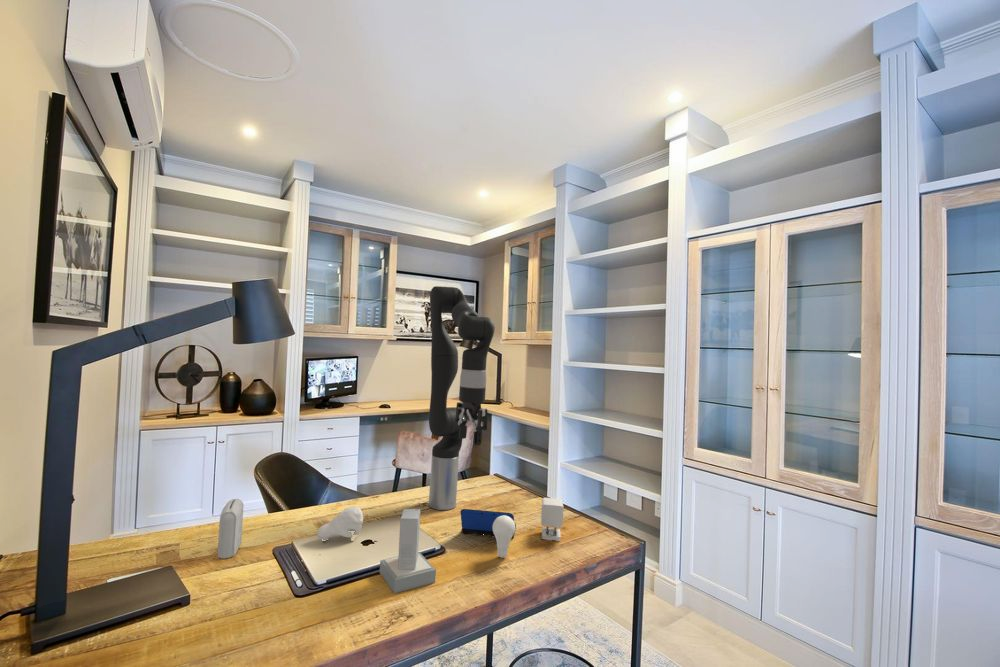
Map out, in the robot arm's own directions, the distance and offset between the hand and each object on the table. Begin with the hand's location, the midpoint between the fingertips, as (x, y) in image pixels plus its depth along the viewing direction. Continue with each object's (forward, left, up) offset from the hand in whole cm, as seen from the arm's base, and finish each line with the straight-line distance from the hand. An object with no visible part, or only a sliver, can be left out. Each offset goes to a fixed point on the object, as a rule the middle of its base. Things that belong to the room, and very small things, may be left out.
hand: (469, 441), depth 131 cm
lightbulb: (+14, +4, -28) cm, 32 cm away
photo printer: (-21, -57, -28) cm, 67 cm away
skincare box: (+12, -22, -25) cm, 35 cm away
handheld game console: (-1, +9, -29) cm, 30 cm away
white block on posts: (+9, +25, -28) cm, 39 cm away
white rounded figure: (-15, -31, -28) cm, 45 cm away
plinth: (+12, -22, -28) cm, 38 cm away
